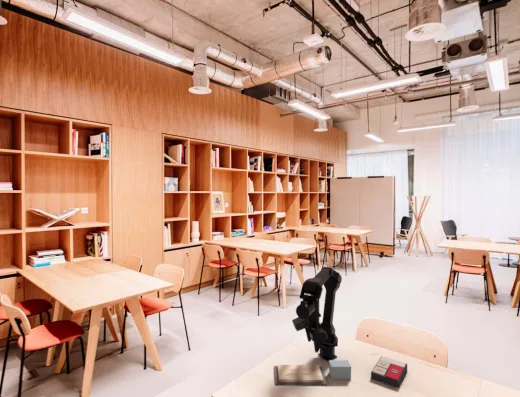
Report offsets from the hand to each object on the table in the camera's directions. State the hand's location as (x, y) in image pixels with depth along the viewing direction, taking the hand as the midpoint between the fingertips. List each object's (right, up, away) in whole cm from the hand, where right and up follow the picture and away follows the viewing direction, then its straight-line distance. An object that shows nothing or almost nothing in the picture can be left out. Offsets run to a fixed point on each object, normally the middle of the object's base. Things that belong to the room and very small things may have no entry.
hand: (312, 346), depth 133 cm
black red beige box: (+33, -13, 0) cm, 35 cm away
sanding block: (+11, -12, 0) cm, 17 cm away
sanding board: (-6, -12, 0) cm, 13 cm away
